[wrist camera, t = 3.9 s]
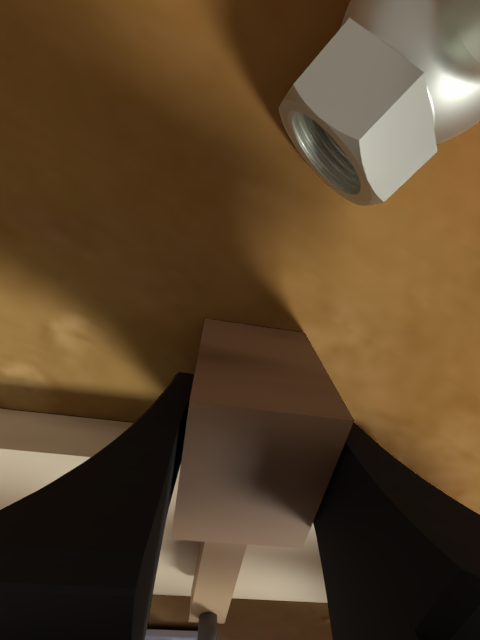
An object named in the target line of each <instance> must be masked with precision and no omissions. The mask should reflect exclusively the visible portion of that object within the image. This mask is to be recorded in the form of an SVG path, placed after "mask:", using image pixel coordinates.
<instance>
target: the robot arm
mask: <svg viewBox="0 0 480 640" xmlns="http://www.w3.org/2000/svg"><path fill="white" fill-rule="evenodd" d="M193 379H194V374H189V373H181V372H179V373H178V374H176V375H175V377H174V379H173V380H172V382H171V383H170V384H169V386H168V387H167V388H166V389H165V391H164V392H163V393H162V394H161V395H160V397H159V398H158V399H157V400H156V401H155V402H154V403H153V405H152V406H151V407H150V408H149V409H148V410H147V411H146V412H145V413H144V414H143V415H142V416H141V417H140V418H139V419H138V420H137V421H136V422H134V423H133V424H132V425H131V426H130V427H129V428H128V429H127V430H125V431H124V432H123V433H122V434H121V435H120V436H118V437H117V438H116V439H115V440H113V441H112V442H111V443H110V444H108V445H107V446H106V447H104V448H103V449H102V450H100V451H99V452H97V453H96V454H95V455H93V456H92V457H91V458H89V459H88V460H86V461H85V462H83V463H82V464H80V465H79V466H77V467H75V468H74V469H72V470H71V471H69V472H67V473H66V474H64V475H63V476H61V477H59V478H58V479H56V480H55V481H53V482H51V483H50V484H48V485H46V486H45V487H43V488H41V489H39V490H37V491H36V492H34V493H32V494H30V495H28V496H26V497H24V498H22V499H20V500H18V501H16V502H14V503H12V504H11V505H9V506H7V507H5V508H3V509H1V510H0V640H197V637H198V631H187V630H160V629H147V624H148V618H149V613H150V607H151V601H152V596H153V590H154V584H155V579H156V573H157V568H158V562H159V557H160V551H161V545H162V540H163V534H164V529H165V523H166V519H167V514H168V510H169V506H170V502H171V498H172V494H173V491H174V487H175V483H176V479H177V476H178V472H179V468H180V464H181V460H182V453H183V445H184V438H185V431H186V423H187V416H188V408H189V401H190V395H191V390H192V385H193ZM313 524H314V528H315V532H316V538H317V543H318V549H319V554H320V560H321V565H322V571H323V577H324V583H325V590H326V596H327V602H328V609H329V616H330V623H331V630H332V637H333V640H480V515H479V514H477V513H476V512H474V511H472V510H470V509H469V508H467V507H466V506H464V505H462V504H461V503H459V502H457V501H456V500H454V499H453V498H451V497H449V496H448V495H446V494H445V493H443V492H442V491H440V490H439V489H437V488H436V487H434V486H433V485H431V484H430V483H428V482H427V481H425V480H424V479H423V478H421V477H420V476H418V475H417V474H415V473H414V472H413V471H411V470H410V469H409V468H407V467H406V466H405V465H404V464H402V463H401V462H400V461H398V460H397V459H396V458H394V457H393V456H392V455H391V454H389V453H388V452H387V451H386V450H384V449H383V448H382V447H381V446H380V445H379V444H377V443H376V442H375V441H374V440H373V439H372V438H370V437H369V436H368V435H367V434H366V433H365V432H364V431H363V430H362V429H361V428H359V427H358V426H357V425H356V424H355V423H354V422H353V424H352V427H351V429H350V432H349V434H348V437H347V439H346V442H345V444H344V447H343V449H342V452H341V454H340V457H339V459H338V462H337V464H336V467H335V469H334V472H333V474H332V476H331V479H330V481H329V484H328V486H327V489H326V491H325V494H324V496H323V499H322V501H321V504H320V506H319V509H318V511H317V514H316V516H315V519H314V521H313Z"/></svg>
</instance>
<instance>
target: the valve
mask: <svg viewBox="0 0 480 640" xmlns="http://www.w3.org/2000/svg"><path fill="white" fill-rule="evenodd" d="M278 109H279V113H280V117H281V121H282V123H283V126H284V128H285V130H286V132H287V134H288V136H289V138H290V139H291V141H292V143H293V144H294V146H295V147H296V149H297V150H298V152H299V153H300V154H301V156H302V157H303V158H304V160H305V161H306V162H307V163H308V165H309V166H310V167H311V168H312V169H313V170H314V171H315V173H316V174H317V175H318V176H319V177H320V178H321V179H322V180H323V181H324V182H325V183H326V184H327V185H329V186H330V187H331V188H332V189H333V190H334V191H336V192H337V193H338V194H340V195H341V196H342V197H344V198H345V199H347V200H349V201H350V202H353V203H355V204H358V205H362V206H365V205H374V204H379V203H383V202H385V201H386V200H387V199H388V198H389V197H390V196H391V195H392V194H393V193H394V192H395V191H396V190H397V189H398V188H399V187H400V186H401V185H403V184H404V183H405V182H406V181H407V180H408V179H409V178H410V177H411V176H412V175H413V174H414V173H415V172H416V171H417V170H418V169H419V168H420V167H422V166H423V165H424V164H425V163H426V162H427V161H428V160H429V159H430V158H431V157H432V156H433V155H434V154H435V153H436V152H437V144H440V143H442V142H445V141H447V140H449V139H451V138H454V137H456V136H457V135H459V134H461V133H463V132H464V131H466V130H468V129H469V128H471V127H472V126H474V125H475V124H477V123H478V122H480V0H351V1H350V3H349V5H348V8H347V10H346V12H345V15H344V18H343V21H342V24H341V28H340V29H339V31H338V32H337V33H336V34H335V35H334V37H333V38H332V39H331V40H330V41H329V43H328V44H327V45H326V46H325V47H324V48H323V50H322V51H321V52H320V53H319V54H318V56H317V57H316V58H315V59H314V60H313V61H312V63H311V64H310V65H309V66H308V67H307V69H306V70H305V71H304V72H303V73H302V75H301V76H300V77H299V78H298V79H297V80H296V82H295V83H294V84H293V85H292V87H291V88H290V90H289V91H288V93H287V94H286V96H285V97H284V99H283V100H282V102H281V104H280V106H279V108H278Z"/></svg>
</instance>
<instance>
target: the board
mask: <svg viewBox="0 0 480 640" xmlns="http://www.w3.org/2000/svg"><path fill="white" fill-rule="evenodd" d="M132 424H133V423H130V422H120V421H111V420H102V419H92V418H83V417H73V416H64V415H55V414H45V413H36V412H26V411H17V410H8V409H0V510H1V509H3V508H5V507H7V506H9V505H11V504H12V503H14V502H16V501H18V500H20V499H22V498H24V497H26V496H28V495H30V494H32V493H34V492H36V491H37V490H39V489H41V488H43V487H45V486H46V485H48V484H50V483H51V482H53V481H55V480H56V479H58V478H59V477H61V476H63V475H64V474H66V473H67V472H69V471H71V470H72V469H74V468H75V467H77V466H79V465H80V464H82V463H83V462H85V461H86V460H88V459H89V458H91V457H92V456H93V455H95V454H96V453H97V452H99V451H100V450H102V449H103V448H104V447H106V446H107V445H108V444H110V443H111V442H112V441H113V440H115V439H116V438H117V437H118V436H120V435H121V434H122V433H123V432H124V431H125V430H127V429H128V428H129V427H130V426H131V425H132ZM180 468H181V464H180ZM180 468H179V472H178V476H177V479H176V483H175V487H174V491H173V494H172V498H171V502H170V506H169V510H168V514H167V519H166V523H165V529H164V534H163V540H162V545H161V551H160V557H159V562H158V568H157V573H156V579H155V584H154V590H153V594H156V595H177V596H191V589H192V584H193V579H194V574H195V569H196V563H197V558H198V553H199V548H200V543H201V541H186V540H172V539H171V535H172V528H173V520H174V513H175V505H176V498H177V490H178V483H179V475H180ZM232 598H238V599H259V600H279V601H300V602H320V603H328V602H327V596H326V590H325V583H324V577H323V571H322V565H321V560H320V554H319V549H318V543H317V538H316V532H315V528H314V524H313V523H312V526H311V528H310V531H309V533H308V536H307V538H306V541H305V543H304V546H303V548H289V547H275V546H260V545H247V547H246V551H245V554H244V557H243V561H242V564H241V568H240V571H239V575H238V578H237V582H236V585H235V589H234V592H233V595H232Z"/></svg>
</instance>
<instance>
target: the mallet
mask: <svg viewBox="0 0 480 640" xmlns="http://www.w3.org/2000/svg"><path fill="white" fill-rule="evenodd" d="M353 422H354V420H353V418H352V416H351V414H350V412H349V411H348V409H347V407H346V405H345V404H344V402H343V400H342V398H341V396H340V395H339V393H338V391H337V389H336V388H335V386H334V384H333V382H332V380H331V379H330V377H329V375H328V373H327V372H326V370H325V368H324V366H323V364H322V363H321V361H320V359H319V357H318V356H317V354H316V352H315V350H314V348H313V347H312V345H311V343H310V341H309V340H308V338H307V336H306V334H305V333H302V332H295V331H288V330H282V329H275V328H268V327H261V326H254V325H247V324H240V323H233V322H226V321H220V320H213V319H206V318H205V320H204V325H203V331H202V336H201V341H200V347H199V352H198V358H197V363H196V368H195V374H194V379H193V385H192V390H191V395H190V401H189V408H188V416H187V423H186V431H185V438H184V445H183V453H182V460H181V468H180V475H179V483H178V490H177V498H176V505H175V513H174V520H173V528H172V535H171V539H172V540H186V541H201V543H200V548H199V553H198V558H197V563H196V569H195V574H194V579H193V584H192V589H191V600H190V611H189V622H198V637H197V640H217V623H223V624H224V623H225V620H226V616H227V613H228V609H229V606H230V602H231V599H232V595H233V592H234V589H235V585H236V582H237V578H238V575H239V571H240V568H241V564H242V561H243V557H244V554H245V551H246V547H247V545H260V546H275V547H289V548H303V546H304V543H305V541H306V538H307V536H308V533H309V531H310V528H311V526H312V523H313V521H314V519H315V516H316V514H317V511H318V509H319V506H320V504H321V501H322V499H323V496H324V494H325V491H326V489H327V486H328V484H329V481H330V479H331V476H332V474H333V472H334V469H335V467H336V464H337V462H338V459H339V457H340V454H341V452H342V449H343V447H344V444H345V442H346V439H347V437H348V434H349V432H350V429H351V427H352V424H353Z"/></svg>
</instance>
